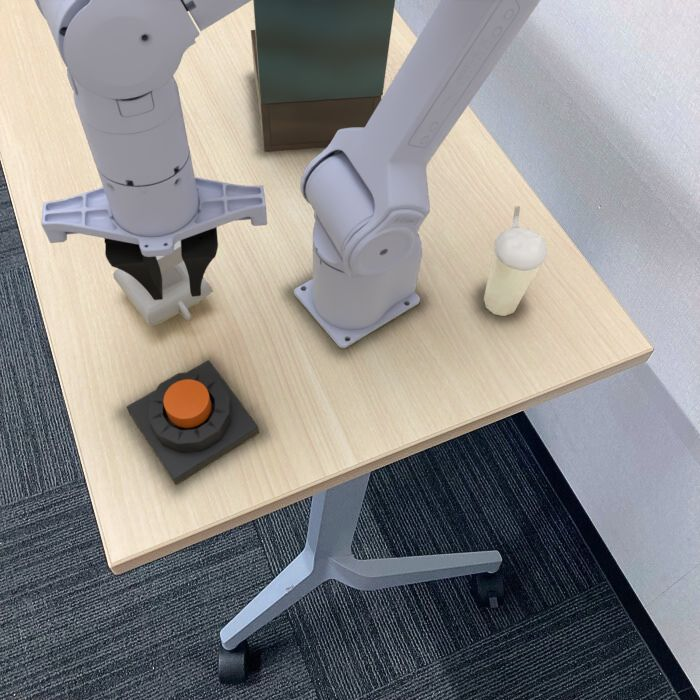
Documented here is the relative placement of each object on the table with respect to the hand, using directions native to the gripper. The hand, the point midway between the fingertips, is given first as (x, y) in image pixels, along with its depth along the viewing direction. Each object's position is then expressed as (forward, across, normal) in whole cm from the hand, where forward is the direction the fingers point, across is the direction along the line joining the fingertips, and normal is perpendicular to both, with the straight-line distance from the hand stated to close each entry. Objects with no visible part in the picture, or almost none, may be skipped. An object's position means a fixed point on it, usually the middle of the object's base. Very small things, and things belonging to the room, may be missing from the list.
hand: (177, 287), depth 55 cm
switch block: (+10, 0, -6) cm, 12 cm away
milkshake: (+10, +29, +3) cm, 31 cm away
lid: (-3, +15, +25) cm, 29 cm away
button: (+8, 0, -6) cm, 10 cm away
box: (+10, +15, +32) cm, 37 cm away
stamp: (+11, -2, +7) cm, 13 cm away
